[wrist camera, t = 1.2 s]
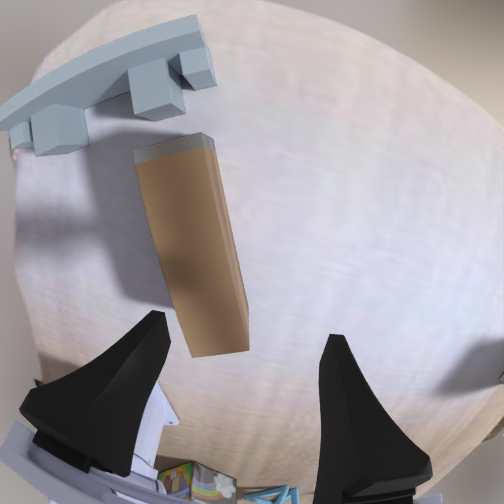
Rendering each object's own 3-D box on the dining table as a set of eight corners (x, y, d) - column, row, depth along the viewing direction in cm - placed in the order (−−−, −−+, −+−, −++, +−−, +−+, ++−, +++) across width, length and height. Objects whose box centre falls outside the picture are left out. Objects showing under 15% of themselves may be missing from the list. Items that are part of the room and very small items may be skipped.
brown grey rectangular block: (202, 314, 24) (192, 357, 19) (161, 151, 20) (132, 151, 14) (248, 306, 24) (249, 350, 19) (213, 138, 20) (200, 132, 14)
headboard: (46, 163, 20) (-7, 172, 13) (40, 118, 18) (-13, 116, 12) (220, 105, 19) (209, 82, 12) (210, 54, 18) (196, 14, 11)
